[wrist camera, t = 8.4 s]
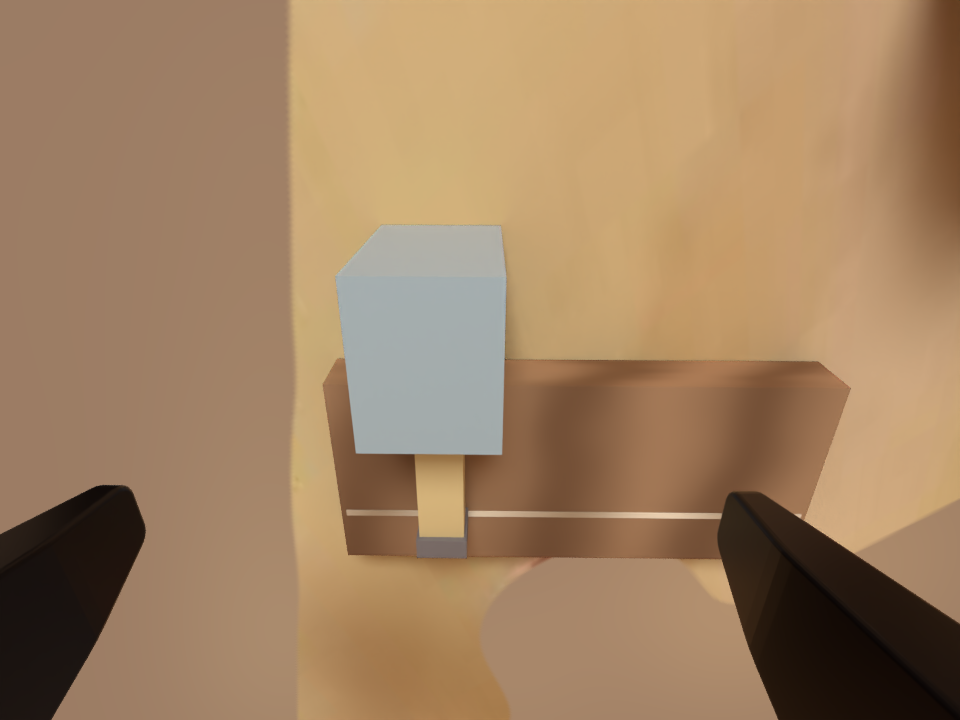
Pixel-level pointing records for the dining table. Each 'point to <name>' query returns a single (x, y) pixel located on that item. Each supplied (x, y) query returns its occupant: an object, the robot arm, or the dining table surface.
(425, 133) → the dining table surface
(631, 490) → the board
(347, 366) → the light blue block
